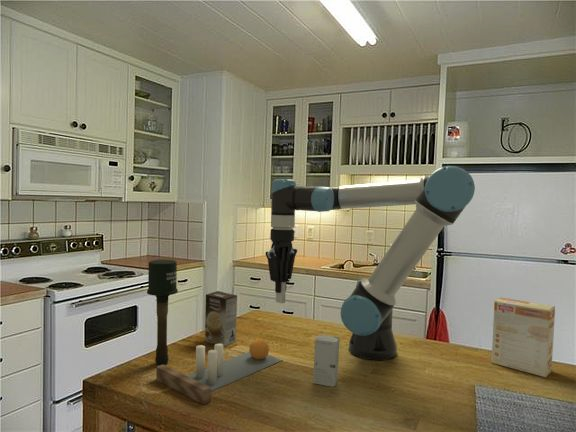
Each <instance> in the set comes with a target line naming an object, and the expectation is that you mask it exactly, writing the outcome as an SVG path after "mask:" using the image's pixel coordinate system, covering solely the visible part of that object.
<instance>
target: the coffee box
mask: <svg viewBox="0 0 576 432" xmlns="http://www.w3.org/2000/svg"><path fill="white" fill-rule="evenodd" d="M204 309H205V315H204V318H205V321H204V341H205V342H207V343H210V344H214V345H215V344H223V348H224V347H226V346H230V345H231V344H234V343H235V342H236V343H237V310H238V295H237V294H233V293H228V292H224V291H219V290H217V291H214V292H209V293H207V294H205V308H204Z"/></svg>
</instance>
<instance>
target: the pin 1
mask: <svg viewBox="0 0 576 432" xmlns="http://www.w3.org/2000/svg"><path fill="white" fill-rule="evenodd" d="M205 364H206V346H205V345H202V344H200V345H196V346H195V372H196V378H197V379H202V378H204V377H205V368H206V367H205V366H206V365H205Z"/></svg>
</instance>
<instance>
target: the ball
mask: <svg viewBox="0 0 576 432" xmlns="http://www.w3.org/2000/svg"><path fill="white" fill-rule="evenodd" d="M248 348H249V351H248V352H250V355H251V356H252V357H253V358H254V359H257V360H261V359H264V358H265V357H266V356H267V355H269V352H270V346H269V344H268V342H267V341H266V340H264V339H262V338H257V339H255V340H253V341H252V342H251V343H250V344H249V347H248Z"/></svg>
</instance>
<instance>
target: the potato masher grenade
mask: <svg viewBox="0 0 576 432" xmlns="http://www.w3.org/2000/svg"><path fill="white" fill-rule="evenodd" d="M177 265H178V264H177V261H176V260H174V259H154V260H150V261H148V270H147V271H148V272H147V273H148V280H147V281H148V282H147V283H148V286H147V287H148V289H146V294H147V295H150V296H154V297H156V298H155V299H156V300H155V302H156V316H157V317H156V318H157V321H156V322H157V331H156V334H157V336H156V339H157V340H156V343H157V344H156V347H155V365H157V366H160V365H165V366H167V365H168V362H169V349H168V337H167V336H168V313H169V297H170V296H171V295H175V294H177V293H178V292H179V290H178V288H177V287H178V286H177V284H178V282H177V281H178V278H177V273H178V272H177V271H178V270H177V269H178V268H177V267H178V266H177Z"/></svg>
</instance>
